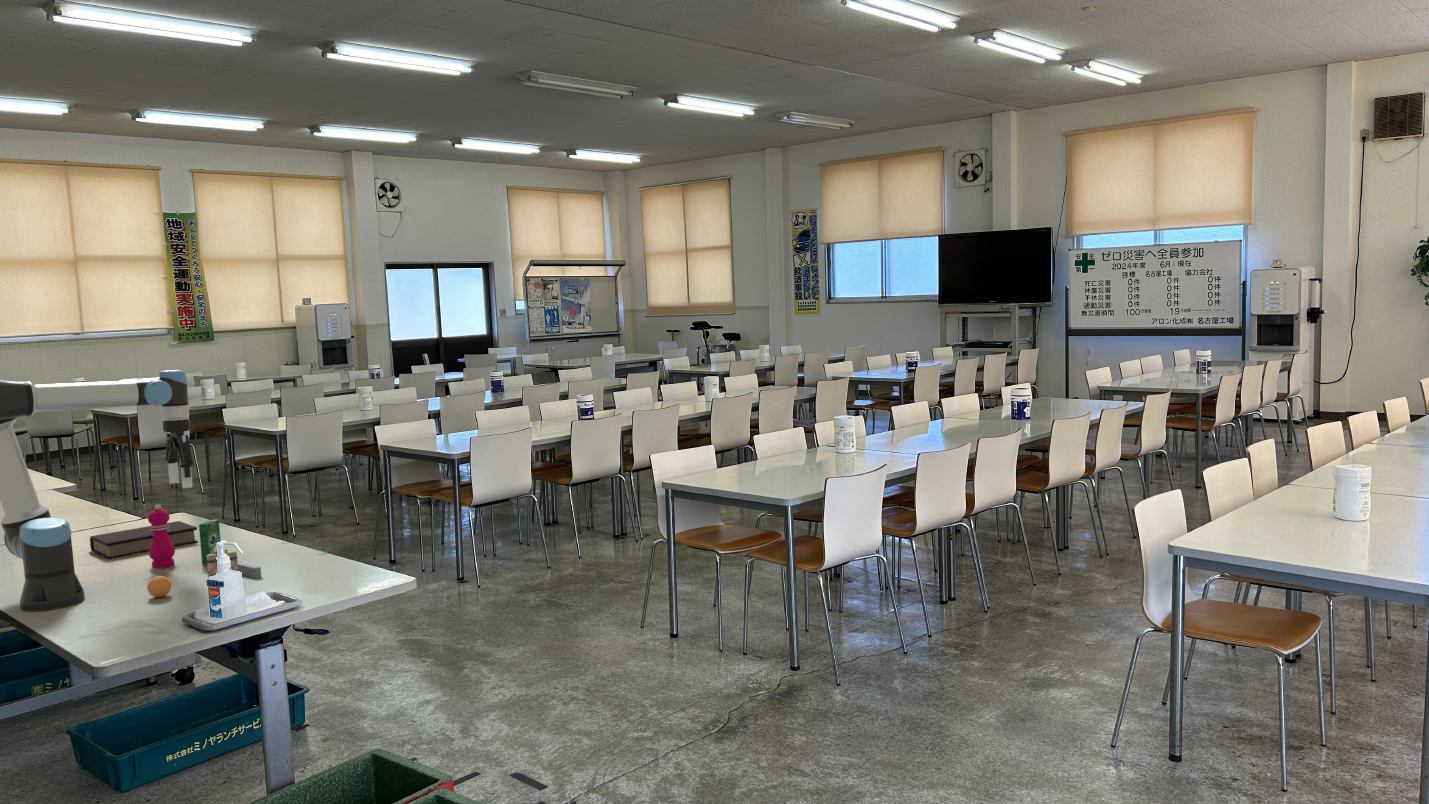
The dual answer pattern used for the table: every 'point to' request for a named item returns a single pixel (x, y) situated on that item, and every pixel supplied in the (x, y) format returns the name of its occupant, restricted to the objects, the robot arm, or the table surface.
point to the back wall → (249, 570)
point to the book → (139, 540)
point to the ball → (159, 586)
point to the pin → (233, 560)
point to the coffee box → (209, 538)
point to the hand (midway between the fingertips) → (180, 485)
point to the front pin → (212, 564)
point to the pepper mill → (160, 539)
